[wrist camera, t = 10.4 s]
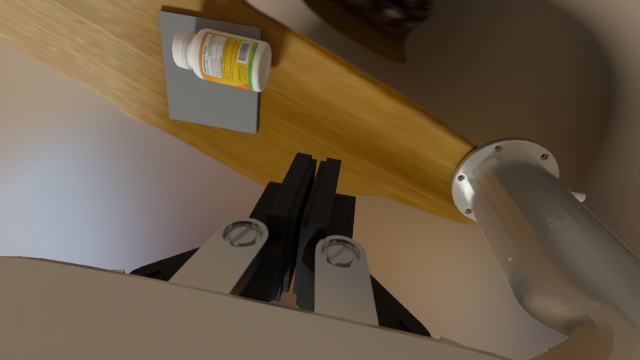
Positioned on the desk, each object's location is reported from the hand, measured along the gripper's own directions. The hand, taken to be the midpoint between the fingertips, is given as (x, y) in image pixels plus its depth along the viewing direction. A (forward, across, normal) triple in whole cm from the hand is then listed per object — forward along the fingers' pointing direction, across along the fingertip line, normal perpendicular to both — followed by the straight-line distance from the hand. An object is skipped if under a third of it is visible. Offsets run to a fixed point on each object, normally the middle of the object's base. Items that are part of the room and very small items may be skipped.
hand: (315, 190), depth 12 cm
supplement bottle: (+25, +9, +1) cm, 27 cm away
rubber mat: (+28, +17, +4) cm, 34 cm away
